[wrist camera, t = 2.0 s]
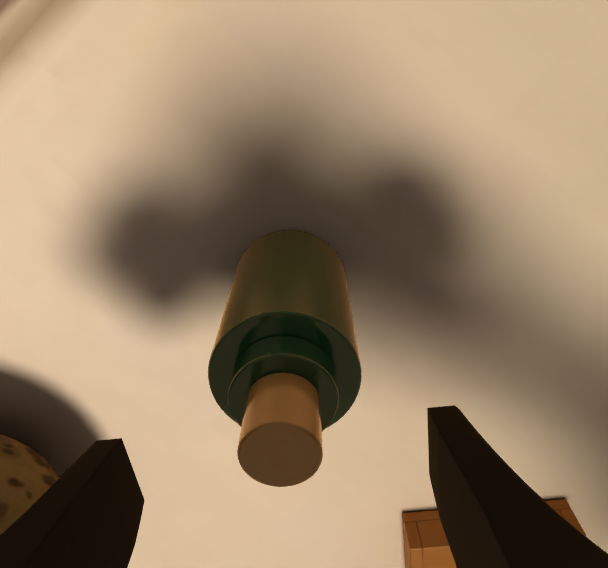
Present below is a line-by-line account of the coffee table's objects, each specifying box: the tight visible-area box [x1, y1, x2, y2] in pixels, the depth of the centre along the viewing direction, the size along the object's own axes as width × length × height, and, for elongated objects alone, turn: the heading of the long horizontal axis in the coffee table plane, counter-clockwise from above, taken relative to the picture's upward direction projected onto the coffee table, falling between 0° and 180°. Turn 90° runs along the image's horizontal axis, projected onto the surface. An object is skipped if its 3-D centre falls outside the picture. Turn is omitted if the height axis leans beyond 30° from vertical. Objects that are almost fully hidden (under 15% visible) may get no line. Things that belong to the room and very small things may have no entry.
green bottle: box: [208, 230, 361, 487], centre depth 16 cm, size 4×4×10 cm
